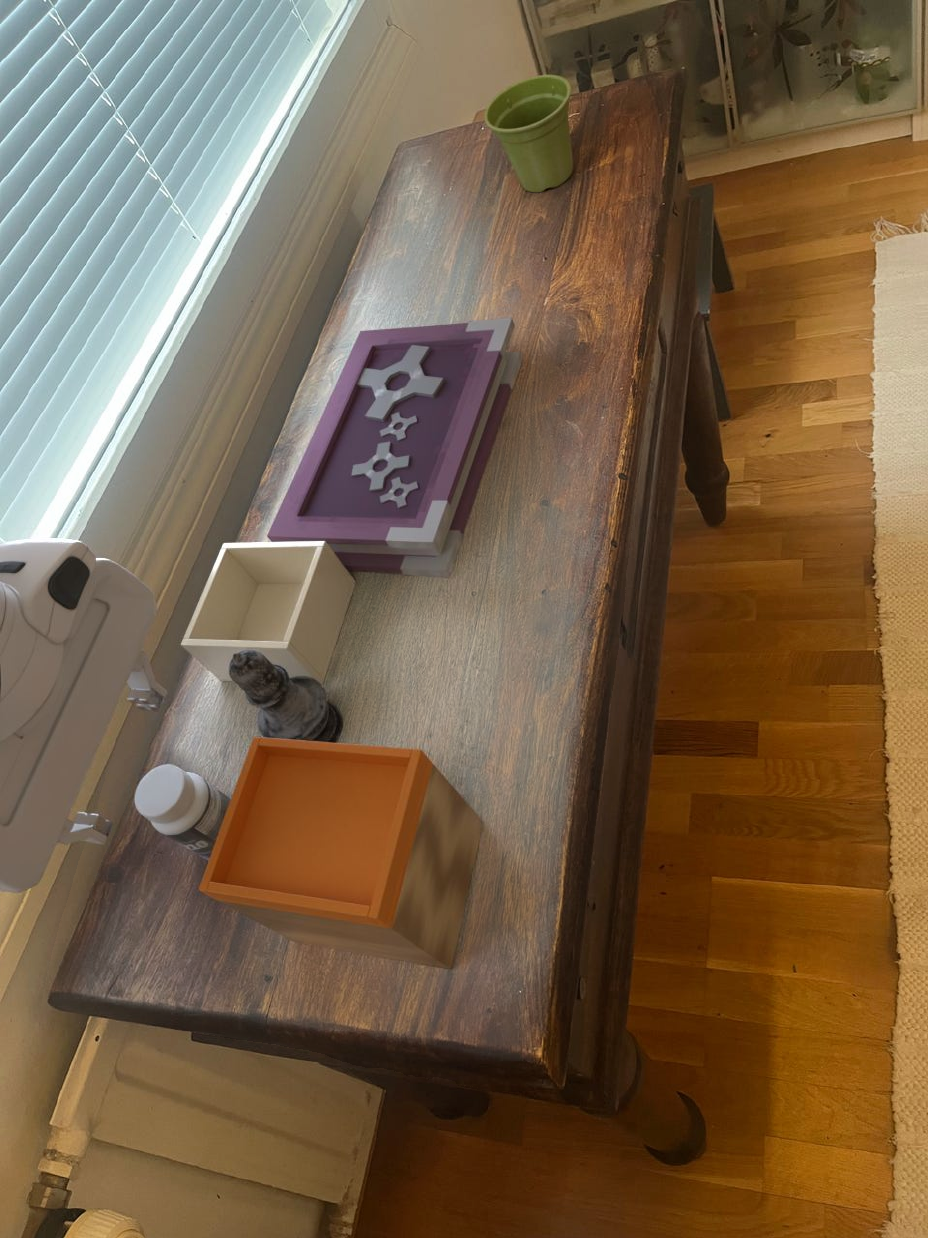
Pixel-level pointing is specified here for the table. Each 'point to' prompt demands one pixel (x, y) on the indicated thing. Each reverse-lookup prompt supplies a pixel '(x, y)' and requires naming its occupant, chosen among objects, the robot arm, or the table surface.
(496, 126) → the plant pot
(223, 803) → the pill bottle
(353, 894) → the amber tray
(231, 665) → the chess bishop
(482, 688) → the table surface
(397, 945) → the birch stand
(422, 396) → the book
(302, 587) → the cream bin
